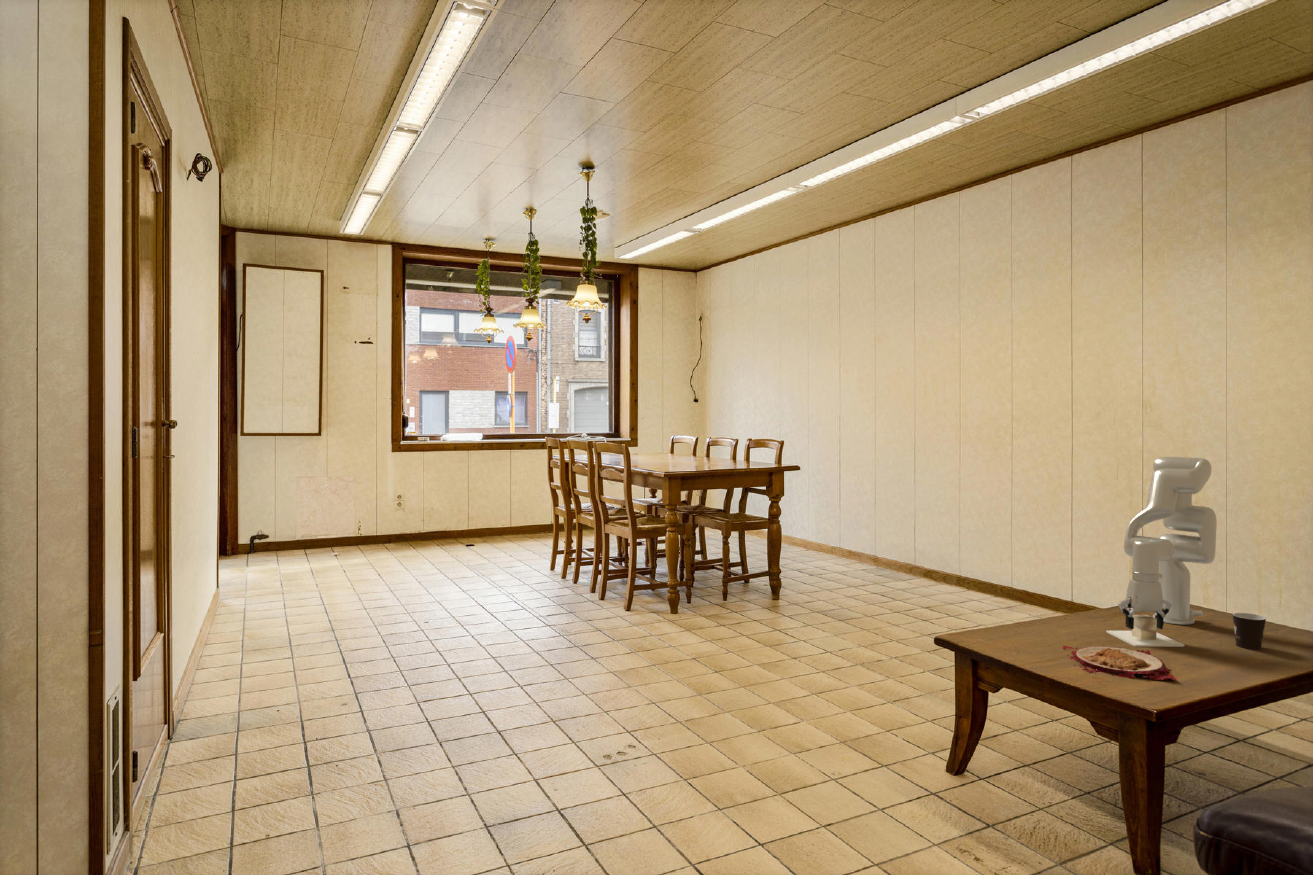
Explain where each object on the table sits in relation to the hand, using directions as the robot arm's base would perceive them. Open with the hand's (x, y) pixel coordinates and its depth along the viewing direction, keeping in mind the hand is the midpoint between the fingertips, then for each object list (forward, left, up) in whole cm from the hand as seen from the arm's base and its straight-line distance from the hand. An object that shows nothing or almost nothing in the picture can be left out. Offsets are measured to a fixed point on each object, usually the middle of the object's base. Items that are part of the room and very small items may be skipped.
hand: (1144, 627), depth 257 cm
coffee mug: (-30, +7, -4) cm, 31 cm away
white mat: (0, 0, -4) cm, 4 cm away
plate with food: (+24, +25, -5) cm, 35 cm away
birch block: (0, 0, -3) cm, 3 cm away
